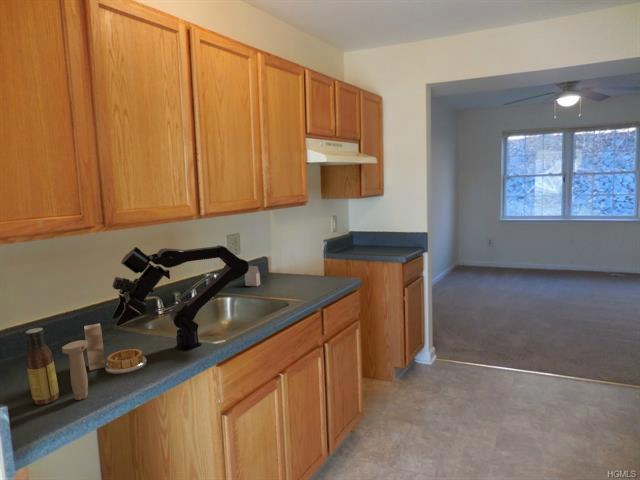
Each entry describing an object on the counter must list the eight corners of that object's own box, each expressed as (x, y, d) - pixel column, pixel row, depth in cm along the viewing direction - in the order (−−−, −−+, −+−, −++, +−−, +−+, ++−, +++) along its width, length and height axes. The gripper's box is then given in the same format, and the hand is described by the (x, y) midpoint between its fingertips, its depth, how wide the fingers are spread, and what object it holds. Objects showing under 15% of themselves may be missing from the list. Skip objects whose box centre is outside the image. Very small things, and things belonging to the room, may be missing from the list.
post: (104, 362, 152) (99, 323, 150) (105, 367, 148) (101, 327, 146) (88, 365, 150) (84, 326, 148) (89, 370, 146) (84, 330, 144)
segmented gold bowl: (132, 355, 157) (131, 345, 156) (154, 362, 150) (153, 352, 149) (97, 368, 147) (96, 358, 146) (119, 377, 140) (118, 365, 139)
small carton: (256, 286, 245) (255, 267, 244) (245, 285, 248) (244, 266, 246) (260, 284, 248) (259, 265, 247) (249, 283, 251) (247, 265, 250)
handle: (64, 402, 125) (57, 348, 123) (83, 391, 132) (76, 339, 129) (79, 404, 124) (72, 349, 122) (97, 393, 130) (91, 340, 128)
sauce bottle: (53, 392, 132) (44, 323, 129) (63, 398, 128) (54, 328, 125) (27, 402, 127) (17, 330, 124) (37, 409, 123) (26, 335, 120)
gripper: (122, 262, 158) (90, 301, 154) (131, 272, 142) (95, 315, 138) (149, 281, 163) (119, 319, 159) (161, 292, 147) (127, 334, 143)
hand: (115, 321), depth 150 cm, fingers open, 9 cm apart
